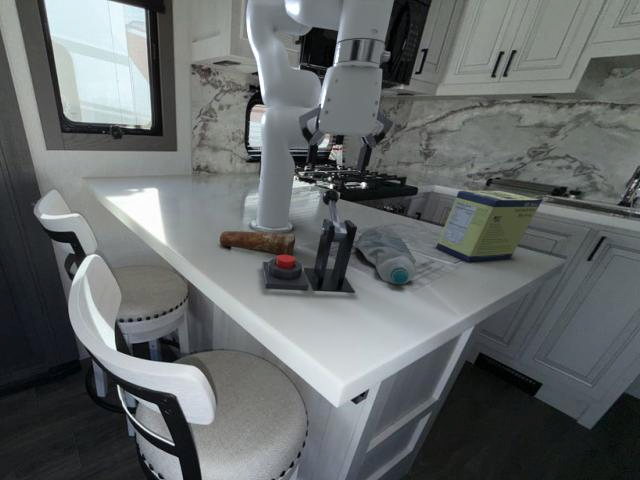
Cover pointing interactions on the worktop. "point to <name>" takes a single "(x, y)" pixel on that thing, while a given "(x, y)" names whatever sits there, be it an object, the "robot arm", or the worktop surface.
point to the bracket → (335, 277)
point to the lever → (335, 215)
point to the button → (285, 261)
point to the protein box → (486, 224)
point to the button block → (284, 276)
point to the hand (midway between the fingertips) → (335, 169)
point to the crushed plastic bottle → (387, 255)
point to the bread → (259, 241)
